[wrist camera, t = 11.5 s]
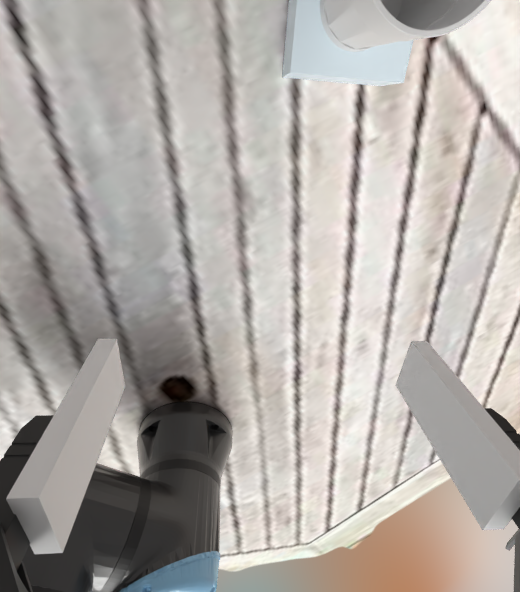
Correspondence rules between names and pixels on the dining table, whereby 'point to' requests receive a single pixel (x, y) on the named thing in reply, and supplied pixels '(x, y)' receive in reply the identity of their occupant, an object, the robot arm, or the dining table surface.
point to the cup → (393, 20)
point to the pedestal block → (337, 53)
